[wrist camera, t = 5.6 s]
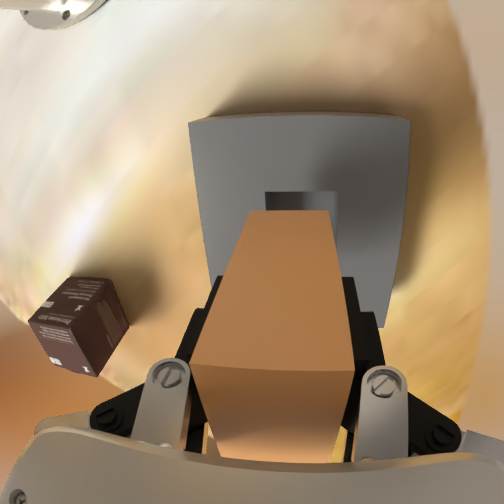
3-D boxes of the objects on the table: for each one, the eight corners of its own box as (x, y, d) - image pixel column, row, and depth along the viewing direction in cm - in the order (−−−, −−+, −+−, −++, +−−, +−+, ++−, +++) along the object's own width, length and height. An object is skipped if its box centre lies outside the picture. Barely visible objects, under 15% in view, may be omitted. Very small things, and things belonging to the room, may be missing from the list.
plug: (250, 210, 14) (188, 362, 6) (328, 210, 14) (354, 370, 6) (257, 300, 17) (221, 457, 9) (323, 301, 16) (328, 464, 8)
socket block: (206, 117, 19) (188, 122, 16) (393, 114, 17) (410, 120, 14) (228, 295, 26) (217, 323, 23) (376, 298, 24) (383, 327, 21)
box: (112, 278, 27) (70, 328, 21) (131, 327, 30) (98, 379, 24) (67, 275, 28) (25, 319, 22) (87, 321, 31) (53, 366, 25)
